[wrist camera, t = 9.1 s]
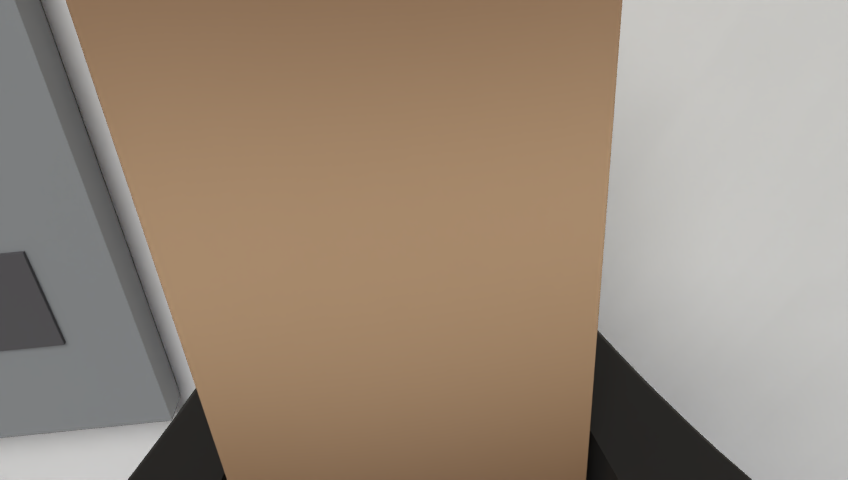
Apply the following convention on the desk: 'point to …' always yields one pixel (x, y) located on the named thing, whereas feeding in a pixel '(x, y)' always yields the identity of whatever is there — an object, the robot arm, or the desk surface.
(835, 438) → the desk surface
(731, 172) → the desk surface
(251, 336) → the pusher bar
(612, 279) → the desk surface
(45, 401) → the switch board
